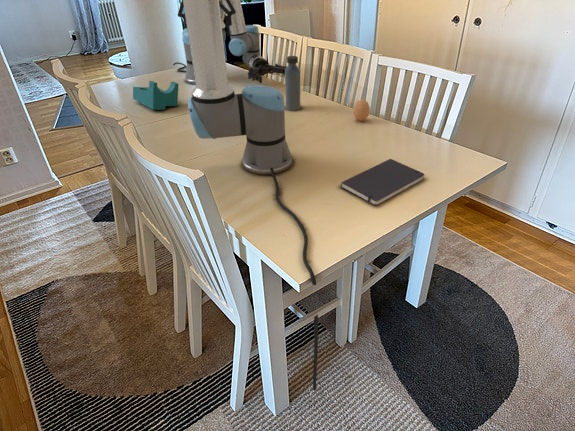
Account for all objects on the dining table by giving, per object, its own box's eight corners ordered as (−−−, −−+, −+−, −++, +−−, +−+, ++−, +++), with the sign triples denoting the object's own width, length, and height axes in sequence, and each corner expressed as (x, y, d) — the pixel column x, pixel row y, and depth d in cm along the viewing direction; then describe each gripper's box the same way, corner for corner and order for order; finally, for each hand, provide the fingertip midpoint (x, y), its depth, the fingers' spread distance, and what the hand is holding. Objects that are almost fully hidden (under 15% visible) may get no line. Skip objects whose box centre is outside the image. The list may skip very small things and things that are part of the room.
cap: (289, 60, 155) (288, 55, 154) (299, 61, 154) (299, 56, 153) (285, 63, 152) (285, 58, 151) (295, 64, 151) (295, 58, 150)
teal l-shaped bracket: (177, 109, 169) (178, 83, 164) (152, 109, 162) (153, 82, 157) (156, 99, 180) (157, 74, 175) (133, 98, 172) (133, 73, 168)
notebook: (389, 163, 124) (340, 187, 113) (390, 158, 123) (341, 182, 112) (424, 178, 116) (375, 206, 105) (425, 174, 115) (376, 201, 104)
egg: (358, 124, 148) (359, 103, 143) (349, 119, 153) (351, 98, 148) (372, 121, 150) (374, 100, 145) (363, 116, 154) (364, 95, 150)
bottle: (288, 104, 167) (287, 55, 155) (302, 106, 165) (302, 56, 154) (283, 109, 162) (282, 59, 151) (297, 111, 161) (297, 60, 149)
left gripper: (284, 70, 196) (302, 82, 180) (234, 77, 189) (249, 90, 173) (283, 54, 192) (302, 65, 176) (233, 60, 184) (247, 73, 168)
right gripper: (237, -34, 140) (243, 32, 152) (163, -31, 136) (175, 36, 149) (239, -32, 134) (244, 36, 146) (162, -29, 130) (174, 41, 143)
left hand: (276, 77), depth 174 cm, fingers open, 13 cm apart
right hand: (209, 36), depth 147 cm, fingers open, 13 cm apart
